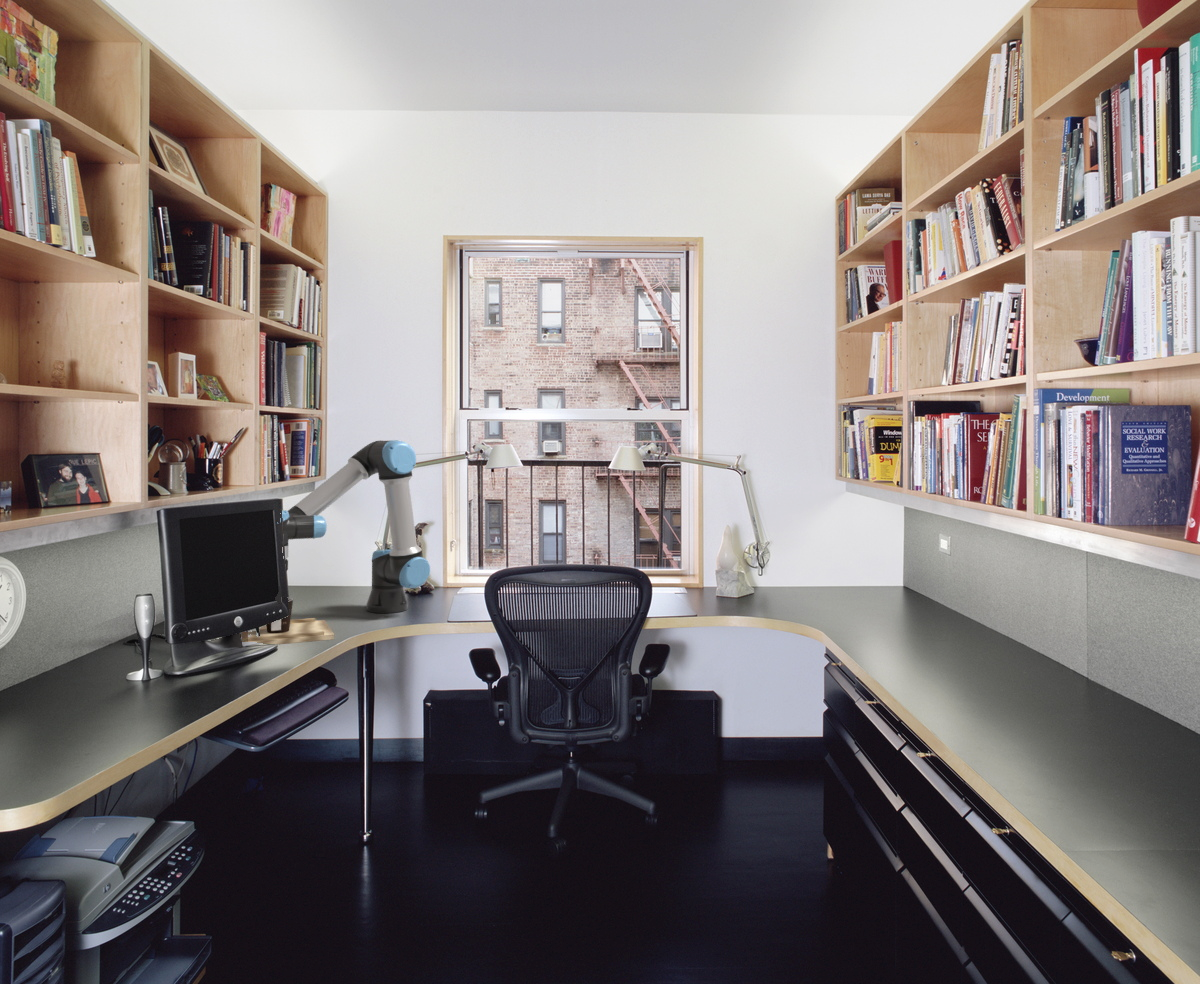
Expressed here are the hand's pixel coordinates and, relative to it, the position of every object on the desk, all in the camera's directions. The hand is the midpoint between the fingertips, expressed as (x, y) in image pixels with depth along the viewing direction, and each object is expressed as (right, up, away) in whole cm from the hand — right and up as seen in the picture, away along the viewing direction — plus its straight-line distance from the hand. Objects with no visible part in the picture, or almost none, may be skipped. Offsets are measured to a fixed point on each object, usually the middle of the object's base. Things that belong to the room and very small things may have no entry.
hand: (274, 625), depth 223 cm
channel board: (+3, -3, +2) cm, 5 cm away
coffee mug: (0, -2, +1) cm, 2 cm away
